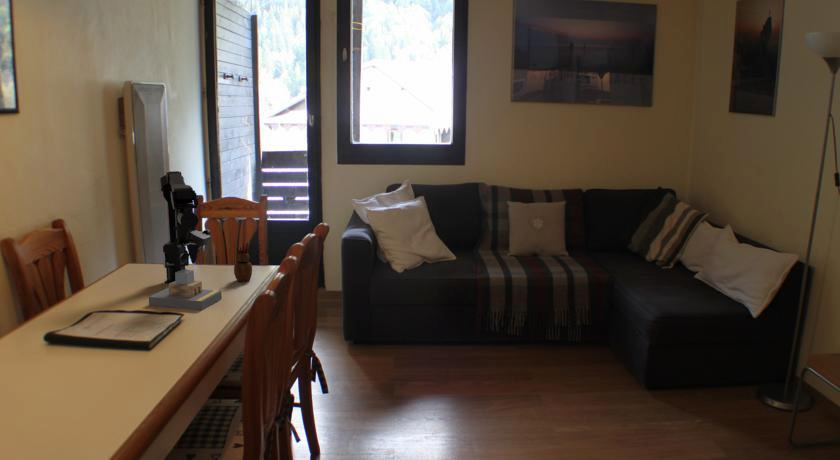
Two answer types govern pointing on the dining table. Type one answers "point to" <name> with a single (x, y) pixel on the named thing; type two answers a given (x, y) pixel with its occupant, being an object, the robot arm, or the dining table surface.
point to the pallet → (185, 289)
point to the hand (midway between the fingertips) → (186, 267)
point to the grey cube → (184, 277)
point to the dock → (185, 299)
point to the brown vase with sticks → (243, 265)
